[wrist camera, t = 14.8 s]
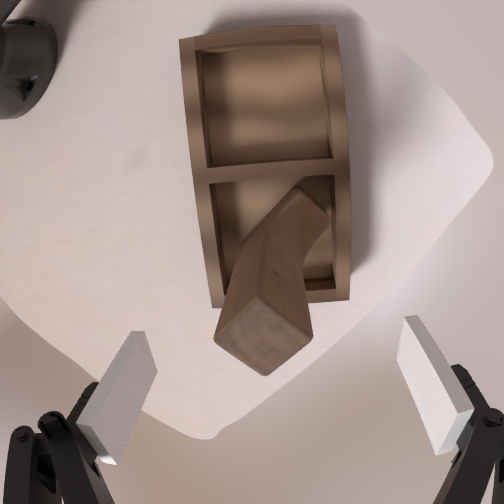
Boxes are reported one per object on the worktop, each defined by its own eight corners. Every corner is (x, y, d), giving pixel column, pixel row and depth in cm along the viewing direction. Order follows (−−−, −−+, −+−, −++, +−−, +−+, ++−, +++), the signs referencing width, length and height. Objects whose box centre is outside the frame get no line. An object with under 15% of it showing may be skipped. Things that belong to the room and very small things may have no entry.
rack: (190, 49, 30) (178, 39, 26) (328, 37, 28) (335, 25, 24) (218, 289, 40) (212, 308, 35) (341, 282, 38) (349, 300, 34)
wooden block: (295, 182, 33) (319, 235, 16) (326, 211, 34) (374, 288, 17) (239, 243, 36) (209, 342, 19) (270, 269, 36) (265, 380, 20)
